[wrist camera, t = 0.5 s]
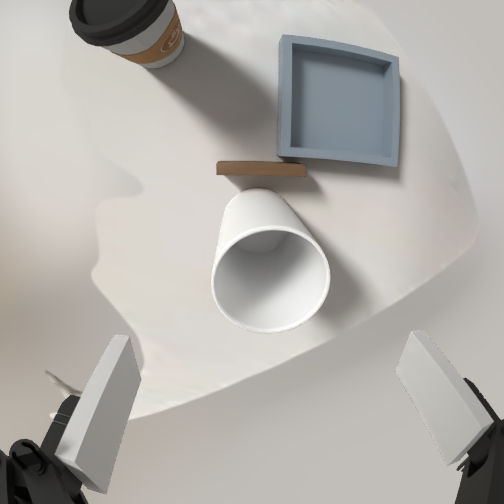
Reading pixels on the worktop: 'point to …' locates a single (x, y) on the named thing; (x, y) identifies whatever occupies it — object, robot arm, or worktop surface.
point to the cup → (267, 265)
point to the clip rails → (260, 168)
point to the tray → (337, 102)
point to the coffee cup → (131, 28)
